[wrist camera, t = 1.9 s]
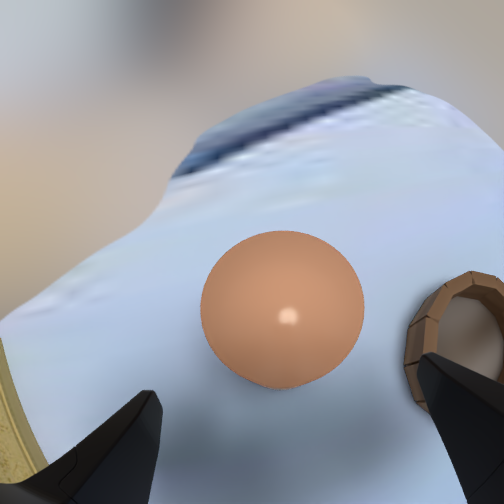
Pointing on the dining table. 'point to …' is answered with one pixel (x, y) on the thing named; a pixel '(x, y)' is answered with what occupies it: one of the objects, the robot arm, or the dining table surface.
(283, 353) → the terracotta canister
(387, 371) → the dining table surface
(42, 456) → the decorative clock
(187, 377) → the dining table surface
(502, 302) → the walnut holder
